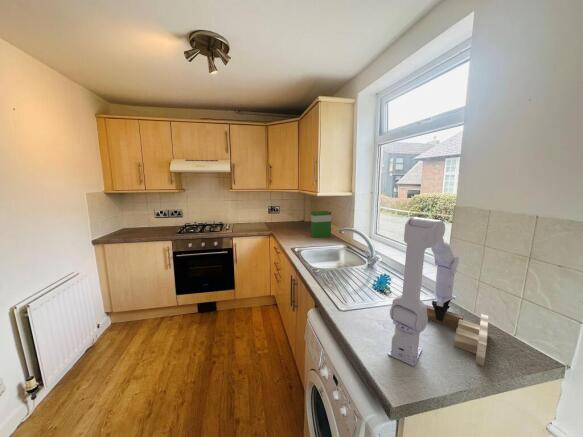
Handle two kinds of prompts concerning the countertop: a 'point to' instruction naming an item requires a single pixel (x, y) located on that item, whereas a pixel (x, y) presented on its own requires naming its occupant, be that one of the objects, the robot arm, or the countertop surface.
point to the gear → (382, 282)
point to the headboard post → (473, 337)
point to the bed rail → (449, 318)
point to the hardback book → (320, 224)
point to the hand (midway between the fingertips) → (441, 315)
